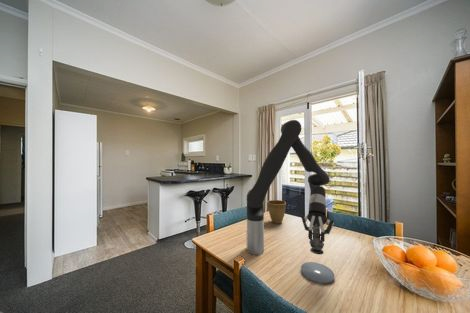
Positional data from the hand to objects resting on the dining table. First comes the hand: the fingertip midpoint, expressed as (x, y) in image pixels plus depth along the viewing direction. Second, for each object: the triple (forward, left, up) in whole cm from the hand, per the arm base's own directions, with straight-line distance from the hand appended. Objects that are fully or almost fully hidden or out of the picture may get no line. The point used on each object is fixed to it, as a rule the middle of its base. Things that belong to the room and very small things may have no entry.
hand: (316, 240), depth 73 cm
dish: (+1, +2, -15) cm, 15 cm away
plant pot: (0, +65, -15) cm, 66 cm away
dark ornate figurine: (+1, +2, -5) cm, 6 cm away
